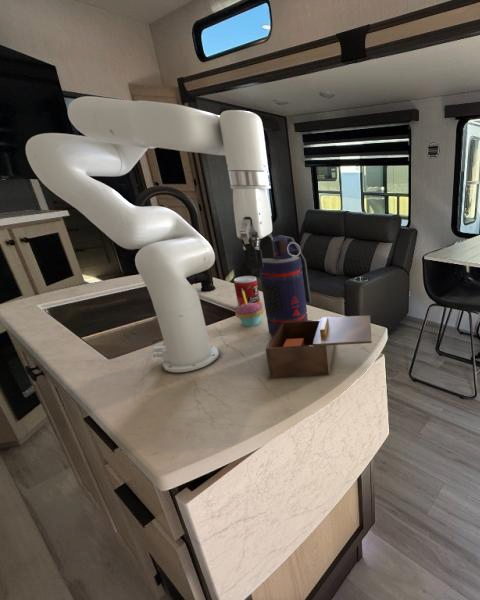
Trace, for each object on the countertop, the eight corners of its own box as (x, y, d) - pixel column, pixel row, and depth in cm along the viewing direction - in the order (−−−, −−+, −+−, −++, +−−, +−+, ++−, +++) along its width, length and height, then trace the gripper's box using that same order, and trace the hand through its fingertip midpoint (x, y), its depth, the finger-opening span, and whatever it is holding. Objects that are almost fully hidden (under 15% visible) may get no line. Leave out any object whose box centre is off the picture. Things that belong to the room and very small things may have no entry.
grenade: (282, 345, 93) (267, 242, 82) (262, 333, 100) (246, 237, 89) (321, 329, 102) (312, 236, 92) (300, 319, 110) (290, 232, 99)
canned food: (252, 310, 118) (247, 282, 114) (233, 308, 120) (228, 280, 116) (265, 303, 125) (260, 276, 121) (247, 301, 127) (242, 275, 123)
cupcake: (232, 325, 106) (225, 291, 102) (254, 316, 113) (249, 284, 108) (248, 330, 102) (241, 295, 97) (270, 321, 108) (265, 288, 104)
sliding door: (312, 346, 75) (311, 337, 74) (320, 319, 90) (320, 311, 89) (371, 343, 77) (371, 334, 76) (370, 317, 92) (369, 309, 91)
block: (284, 362, 82) (282, 347, 81) (288, 353, 86) (286, 338, 85) (302, 361, 83) (300, 346, 81) (305, 352, 87) (303, 338, 85)
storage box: (270, 378, 77) (265, 349, 74) (285, 346, 92) (281, 321, 89) (328, 374, 78) (326, 345, 76) (334, 344, 93) (332, 319, 91)
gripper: (244, 181, 72) (256, 255, 78) (212, 180, 56) (229, 273, 62) (278, 181, 73) (287, 254, 79) (256, 181, 57) (269, 272, 63)
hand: (262, 263), depth 71 cm, fingers open, 9 cm apart
